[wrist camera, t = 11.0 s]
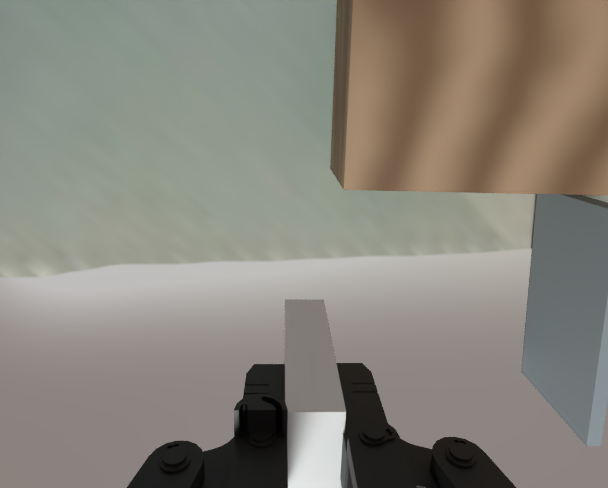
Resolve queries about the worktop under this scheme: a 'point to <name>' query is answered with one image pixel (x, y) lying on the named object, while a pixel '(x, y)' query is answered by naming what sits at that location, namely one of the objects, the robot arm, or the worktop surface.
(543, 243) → the cabinet door
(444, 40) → the cabinet
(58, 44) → the worktop surface
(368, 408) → the robot arm
